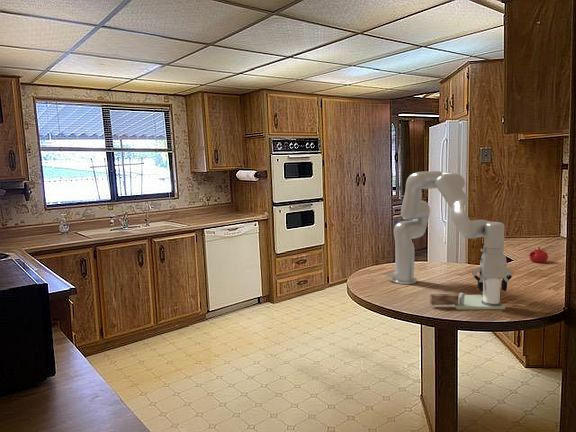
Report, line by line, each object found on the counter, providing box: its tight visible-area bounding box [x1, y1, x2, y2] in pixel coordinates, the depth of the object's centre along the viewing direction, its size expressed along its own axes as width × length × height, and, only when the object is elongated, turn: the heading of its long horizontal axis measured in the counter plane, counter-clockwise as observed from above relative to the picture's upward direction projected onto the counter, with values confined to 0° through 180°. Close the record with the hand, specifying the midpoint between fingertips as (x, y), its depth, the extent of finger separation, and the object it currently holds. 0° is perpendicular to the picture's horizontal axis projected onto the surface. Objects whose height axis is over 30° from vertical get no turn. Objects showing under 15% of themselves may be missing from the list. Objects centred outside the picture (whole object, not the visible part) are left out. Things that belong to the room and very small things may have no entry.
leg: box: [429, 293, 460, 306], centre depth 187 cm, size 11×2×4 cm, turn 88°
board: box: [452, 282, 506, 310], centre depth 191 cm, size 20×16×7 cm
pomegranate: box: [528, 246, 549, 264], centre depth 263 cm, size 10×10×9 cm
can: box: [483, 278, 501, 304], centre depth 187 cm, size 6×6×12 cm
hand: (492, 290), depth 187 cm, fingers open, 9 cm apart
